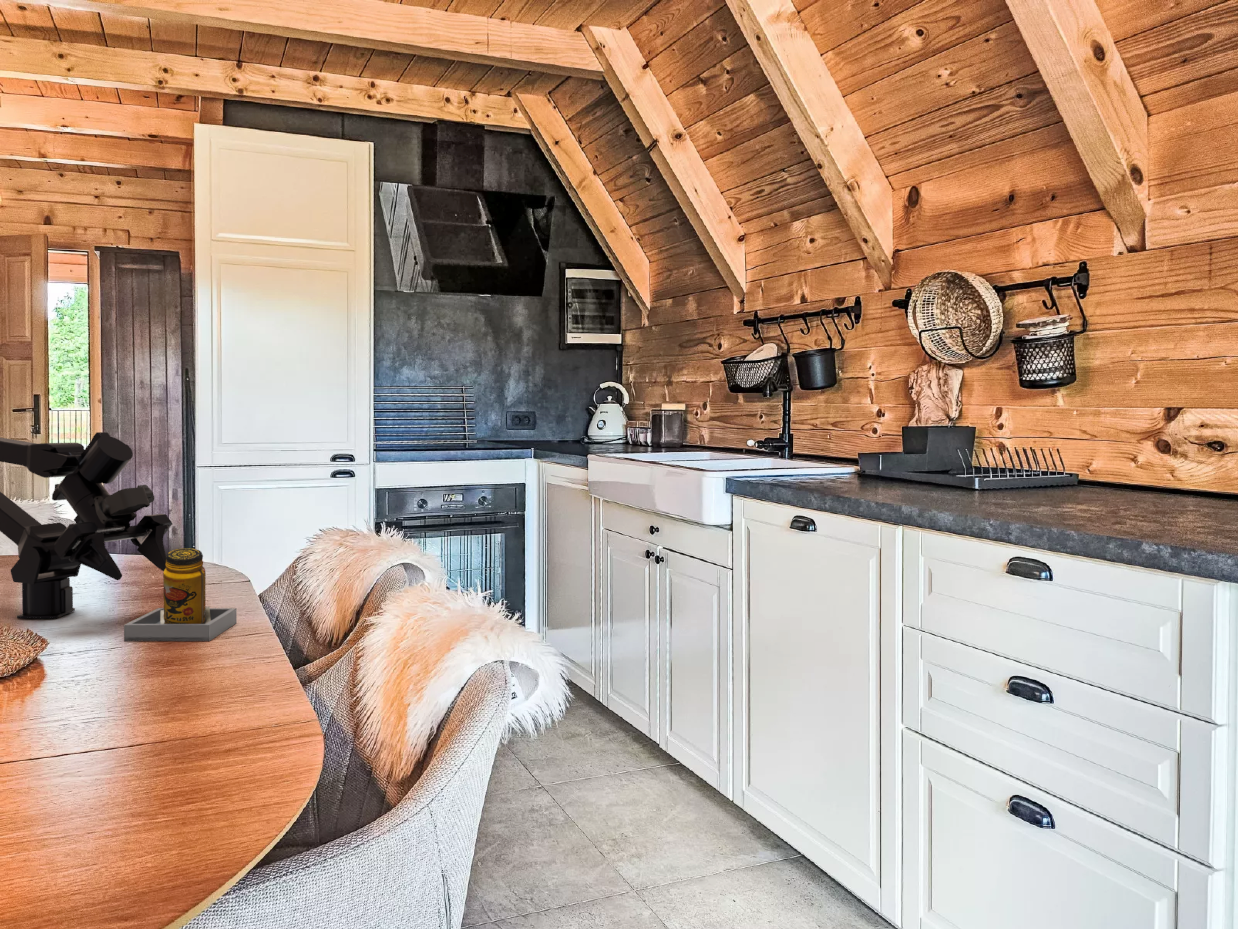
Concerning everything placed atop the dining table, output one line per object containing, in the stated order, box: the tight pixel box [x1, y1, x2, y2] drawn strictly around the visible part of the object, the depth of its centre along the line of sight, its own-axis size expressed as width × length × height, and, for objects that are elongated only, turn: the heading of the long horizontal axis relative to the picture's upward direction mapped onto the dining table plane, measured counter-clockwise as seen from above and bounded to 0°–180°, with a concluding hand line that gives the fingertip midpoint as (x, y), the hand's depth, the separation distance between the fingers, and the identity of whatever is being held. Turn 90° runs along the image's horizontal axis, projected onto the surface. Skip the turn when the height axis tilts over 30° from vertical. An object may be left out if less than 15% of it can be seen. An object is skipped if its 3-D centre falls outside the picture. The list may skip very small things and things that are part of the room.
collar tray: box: [123, 607, 238, 642], centre depth 149 cm, size 13×13×2 cm
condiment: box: [160, 547, 211, 624], centre depth 148 cm, size 7×8×12 cm
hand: (143, 573), depth 151 cm, fingers open, 9 cm apart
